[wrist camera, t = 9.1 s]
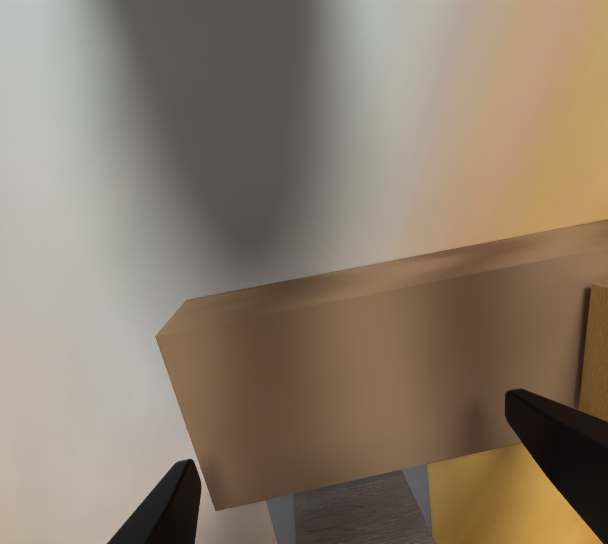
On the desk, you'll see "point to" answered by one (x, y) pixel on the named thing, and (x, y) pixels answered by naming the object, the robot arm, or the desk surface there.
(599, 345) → the tan wooden flat block
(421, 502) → the pad
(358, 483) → the grey knobbed cube
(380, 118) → the desk surface
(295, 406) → the body
